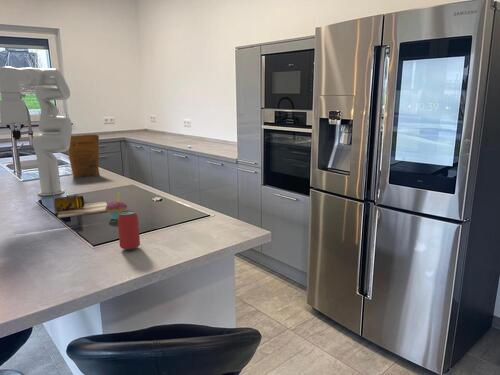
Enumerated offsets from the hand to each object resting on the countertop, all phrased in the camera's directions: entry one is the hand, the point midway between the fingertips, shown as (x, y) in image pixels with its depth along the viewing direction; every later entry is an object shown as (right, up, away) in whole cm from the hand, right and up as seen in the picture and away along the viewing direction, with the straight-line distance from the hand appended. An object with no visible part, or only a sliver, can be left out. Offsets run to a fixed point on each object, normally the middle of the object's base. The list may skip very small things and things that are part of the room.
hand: (17, 139), depth 169 cm
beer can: (+62, -41, -39) cm, 84 cm away
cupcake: (+47, -34, -7) cm, 58 cm away
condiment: (+16, -28, -1) cm, 32 cm away
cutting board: (+27, -32, +5) cm, 42 cm away
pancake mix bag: (-2, -16, +77) cm, 79 cm away
